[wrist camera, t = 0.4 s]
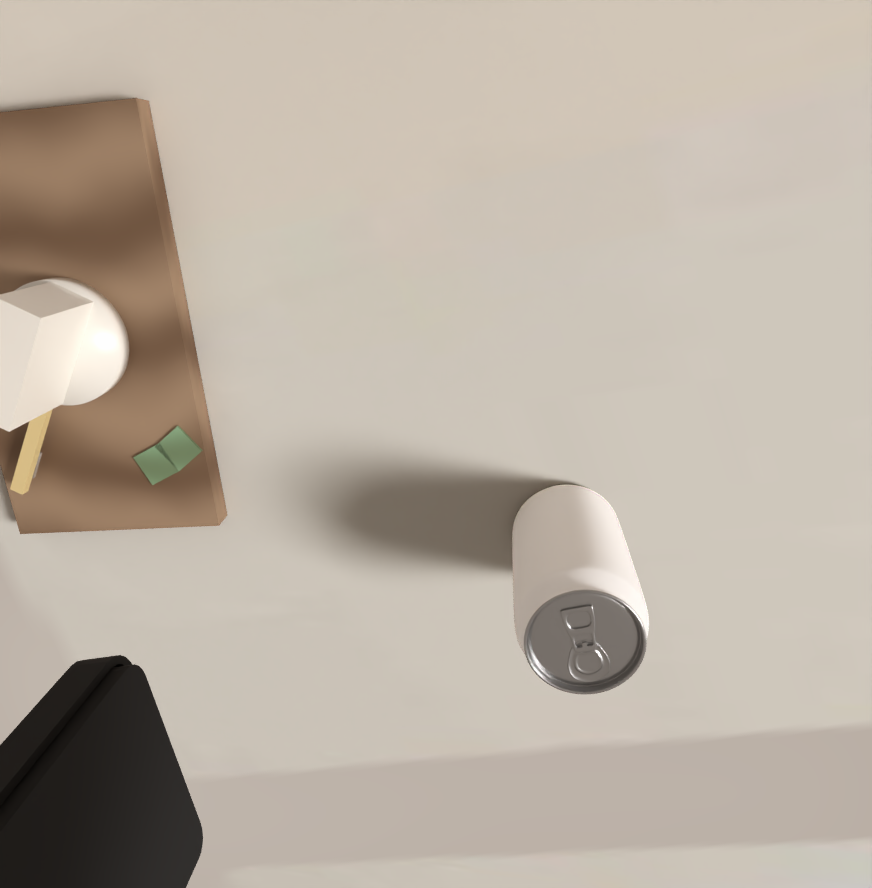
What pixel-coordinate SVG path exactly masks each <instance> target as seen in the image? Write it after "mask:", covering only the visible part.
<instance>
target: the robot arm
mask: <svg viewBox="0 0 872 888" xmlns="http://www.w3.org/2000/svg"><path fill="white" fill-rule="evenodd" d="M202 842H203V834H202V827H201V823H200V820H199V818H198V815H197V812H196V810H195V807H194V804H193V801H192V799H191V796H190V793H189V791H188V788H187V785H186V783H185V780H184V777H183V775H182V772H181V769H180V767H179V764H178V761H177V758H176V756H175V753H174V750H173V748H172V745H171V742H170V740H169V737H168V734H167V732H166V729H165V726H164V724H163V721H162V718H161V716H160V713H159V710H158V708H157V705H156V702H155V700H154V697H153V694H152V691H151V689H150V686H149V683H148V681H147V678H146V675H145V673H144V671H143V670H142V669H141V668H140V667H139V666H138V665H132V664H131V662H130V661H129V660H128V659H127V658H126V657H124V656H121V655H118V656H110V657H103V658H96V659H88V660H82V661H77V662H76V663H74V664H73V665H72V666H71V667H70V668H69V669H68V670H67V671H66V672H65V673H64V675H63V676H62V677H61V678H60V679H59V680H58V681H57V682H56V683H55V685H54V686H53V687H52V688H51V689H50V690H49V691H48V693H47V694H46V695H45V696H44V697H43V698H42V699H41V700H40V701H39V703H38V704H37V705H36V706H35V707H34V708H33V709H32V710H31V712H30V713H29V714H28V715H27V716H26V717H25V718H24V719H23V720H22V722H21V723H20V724H19V725H18V726H17V727H16V728H15V729H14V731H13V732H12V733H11V734H10V735H9V736H8V737H7V738H6V740H5V741H4V742H3V743H2V744H1V745H0V888H186V886H187V884H188V881H189V879H190V877H191V875H192V872H193V870H194V868H195V866H196V864H197V861H198V859H199V856H200V853H201V849H202Z"/></svg>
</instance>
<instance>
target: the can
mask: <svg viewBox="0 0 872 888" xmlns="http://www.w3.org/2000/svg"><path fill="white" fill-rule="evenodd" d="M512 559H513V600H514V623H515V631H516V636H517V639H518V642H519V645H520V647H521V649H522V650H523V652H524V654H525V655H526V658H527V660H528V663H529V664H530V666H531V668H532V669H533V671H534V672H535V673H536V674H537V675H538V676H539V677H540V678H541V679H542V680H543V681H545V682H546V683H547V684H549V685H551V686H553V687H555V688H557V689H559V690H562V691H565V692H569V693H574V694H595V693H600V692H604V691H608V690H610V689H613V688H615V687H617V686H619V685H620V684H622V683H624V682H625V681H626V680H628V679H629V678H630V677H631V676H632V675H633V674H634V673H635V672H636V670H637V669H638V667H639V666H640V664H641V662H642V660H643V658H644V655H645V651H646V639H647V636H648V631H649V616H648V610H647V606H646V602H645V599H644V596H643V592H642V589H641V586H640V583H639V580H638V577H637V574H636V571H635V568H634V565H633V562H632V559H631V556H630V553H629V550H628V547H627V544H626V541H625V538H624V535H623V532H622V529H621V526H620V523H619V520H618V518H617V515H616V513H615V511H614V510H613V508H612V507H611V505H610V504H609V503H608V502H607V501H606V500H605V499H604V498H603V497H602V496H601V495H599V494H598V493H596V492H594V491H593V490H590V489H588V488H585V487H582V486H577V485H557V486H552V487H548V488H546V489H543V490H541V491H539V492H537V493H536V494H534V495H533V496H531V497H530V498H529V499H528V500H527V501H526V502H525V503H524V504H523V505H522V507H521V508H520V510H519V511H518V513H517V515H516V518H515V520H514V524H513V532H512Z"/></svg>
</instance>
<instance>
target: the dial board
mask: <svg viewBox="0 0 872 888" xmlns="http://www.w3.org/2000/svg"><path fill="white" fill-rule="evenodd" d="M54 277H62V278H70V279H74V280H78V281H80V282H83V283H85V284H87V285H89V286H91V287H93V288H94V289H96V290H97V291H99V292H100V293H101V294H102V295H103V296H105V297H106V298H107V299H108V300H109V301H110V303H111V304H112V305H113V306H114V307H115V309H116V310H117V312H118V313H119V315H120V317H121V319H122V321H123V323H124V325H125V328H126V331H127V335H128V340H129V359H128V364H127V367H126V370H125V372H124V374H123V376H122V378H121V379H120V381H119V382H118V383H117V384H116V385H115V386H114V387H113V388H112V389H111V390H109V391H108V392H106V393H105V394H103V395H101V396H99V397H98V398H96V399H94V400H92V401H89V402H87V403H84V404H80V405H60V406H58V407H56V408H54V409H53V410H52V413H51V417H50V420H49V423H48V427H47V430H46V433H45V437H44V440H43V443H42V447H41V450H40V454H39V457H38V460H37V464H36V467H35V470H34V474H33V477H32V480H31V484H30V487H29V490H28V491H27V492H26V493H24V494H23V495H22V494H19V493H17V492H15V491H13V490H11V489H10V487H11V484H12V480H13V477H14V473H15V470H16V466H17V463H18V459H19V456H20V452H21V449H22V445H23V442H24V438H25V435H26V432H27V428H28V425H29V422H27V423H25V424H23V425H21V426H19V427H17V428H16V429H14V430H12V431H10V432H8V431H6V430H4V429H2V428H0V466H1V469H2V473H3V476H4V479H5V483H6V486H7V490H8V493H9V497H10V500H11V504H12V507H13V511H14V514H15V518H16V521H17V524H18V528H19V531H20V534H29V533H53V532H77V531H100V530H124V529H148V528H172V527H195V526H219V525H220V524H221V522H222V521H223V520H224V519H225V517H226V516H227V511H226V506H225V500H224V495H223V490H222V485H221V479H220V474H219V469H218V464H217V458H216V453H215V448H214V442H213V437H212V432H211V427H210V421H209V416H208V411H207V406H206V400H205V395H204V390H203V385H202V379H201V374H200V369H199V364H198V358H197V353H196V348H195V342H194V337H193V332H192V327H191V321H190V316H189V311H188V306H187V300H186V295H185V290H184V285H183V279H182V274H181V269H180V263H179V258H178V253H177V248H176V242H175V237H174V232H173V227H172V221H171V216H170V211H169V206H168V200H167V195H166V190H165V184H164V179H163V174H162V169H161V163H160V158H159V153H158V148H157V142H156V137H155V132H154V127H153V121H152V116H151V111H150V105H149V101H147V100H142V99H137V98H133V99H124V100H114V101H105V102H95V103H86V104H76V105H67V106H57V107H48V108H38V109H29V110H19V111H10V112H0V294H4V293H8V292H12V291H15V290H16V289H18V288H19V287H21V286H23V285H25V284H27V283H31V282H34V281H38V280H43V279H47V278H54Z"/></svg>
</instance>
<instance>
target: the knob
mask: <svg viewBox="0 0 872 888" xmlns="http://www.w3.org/2000/svg"><path fill="white" fill-rule="evenodd" d="M128 359H129V340H128V335H127V331H126V328H125V325H124V323H123V321H122V319H121V317H120V315H119V313H118V312H117V310H116V309H115V307H114V306H113V305H112V304H111V303H110V301H109V300H108V299H107V298H106V297H105V296H103V295H102V294H101V293H100V292H99V291H97V290H96V289H94V288H93V287H91V286H89V285H87V284H85V283H83V282H80V281H78V280H74V279H70V278H62V277H54V278H47V279H43V280H38V281H34V282H31V283H27V284H25V285H23V286H21V287H19V288H18V289H16V290H15V291H12V292H8V293H4V294H0V428H2V429H4V430H6V431H8V432H10V431H12V430H14V429H16V428H17V427H19V426H21V425H23V424H25V423H27V422H29V425H28V428H27V432H26V435H25V438H24V442H23V445H22V449H21V452H20V456H19V459H18V463H17V466H16V470H15V473H14V477H13V480H12V484H11V487H10V489H11V490H13V491H15V492H17V493H19V494H22V495H23V494H24V493H26V492H27V491H28V490H29V487H30V484H31V480H32V477H33V474H34V470H35V467H36V464H37V460H38V457H39V454H40V450H41V447H42V443H43V440H44V437H45V433H46V430H47V427H48V423H49V420H50V417H51V413H52V410H53V409H54V408H56V407H58V406H60V405H80V404H84V403H87V402H89V401H92V400H94V399H96V398H98V397H99V396H101V395H103V394H105V393H106V392H108V391H109V390H111V389H112V388H113V387H114V386H115V385H116V384H117V383H118V382H119V381H120V379H121V378H122V376H123V374H124V372H125V370H126V367H127V364H128Z"/></svg>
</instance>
